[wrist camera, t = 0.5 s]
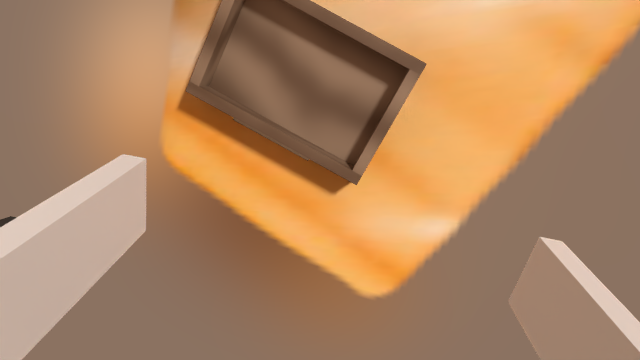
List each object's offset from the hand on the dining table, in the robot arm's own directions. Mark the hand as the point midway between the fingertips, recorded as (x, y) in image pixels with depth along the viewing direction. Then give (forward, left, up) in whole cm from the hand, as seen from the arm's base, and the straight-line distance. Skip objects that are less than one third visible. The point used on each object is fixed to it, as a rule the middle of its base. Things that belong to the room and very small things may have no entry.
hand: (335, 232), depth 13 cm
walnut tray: (-2, -7, -25) cm, 26 cm away
